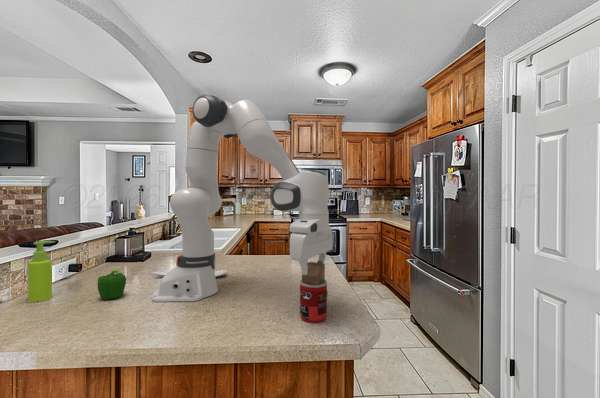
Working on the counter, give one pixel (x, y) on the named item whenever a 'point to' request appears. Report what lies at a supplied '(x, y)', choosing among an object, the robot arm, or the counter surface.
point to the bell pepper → (111, 285)
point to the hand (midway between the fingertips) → (313, 270)
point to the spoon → (164, 271)
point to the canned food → (313, 302)
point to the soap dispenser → (40, 275)
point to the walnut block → (314, 273)
